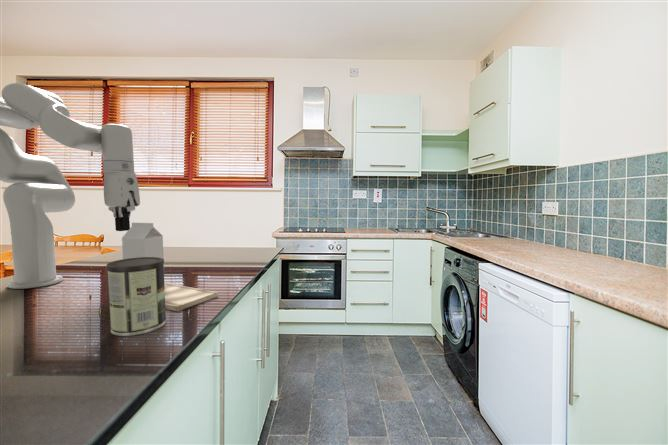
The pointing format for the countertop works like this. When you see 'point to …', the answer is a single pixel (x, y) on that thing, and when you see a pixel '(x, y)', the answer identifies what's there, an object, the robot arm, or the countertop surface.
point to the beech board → (185, 296)
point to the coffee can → (136, 295)
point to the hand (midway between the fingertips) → (123, 230)
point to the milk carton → (142, 242)
